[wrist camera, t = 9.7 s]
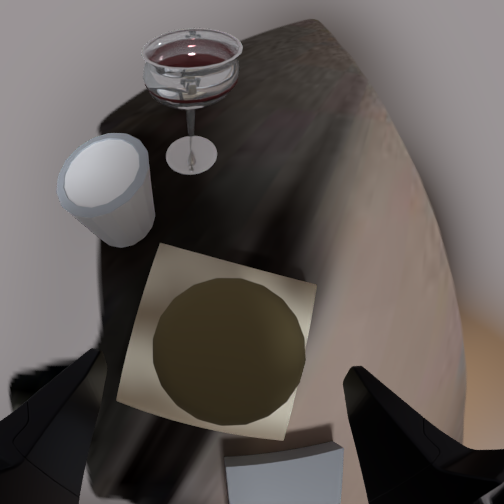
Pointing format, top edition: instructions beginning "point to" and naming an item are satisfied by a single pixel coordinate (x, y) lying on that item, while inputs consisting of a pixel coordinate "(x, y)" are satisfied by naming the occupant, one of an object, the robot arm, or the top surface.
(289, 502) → the blue grey block
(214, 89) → the wineglass
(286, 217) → the top surface
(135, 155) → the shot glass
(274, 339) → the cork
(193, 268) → the maple slab
